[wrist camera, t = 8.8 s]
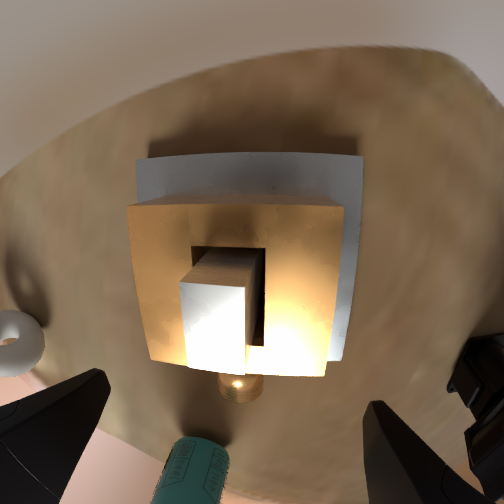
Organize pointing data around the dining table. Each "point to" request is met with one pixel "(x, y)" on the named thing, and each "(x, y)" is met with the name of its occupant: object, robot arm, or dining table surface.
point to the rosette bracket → (253, 236)
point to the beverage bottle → (193, 473)
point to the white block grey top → (222, 307)
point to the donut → (19, 343)
